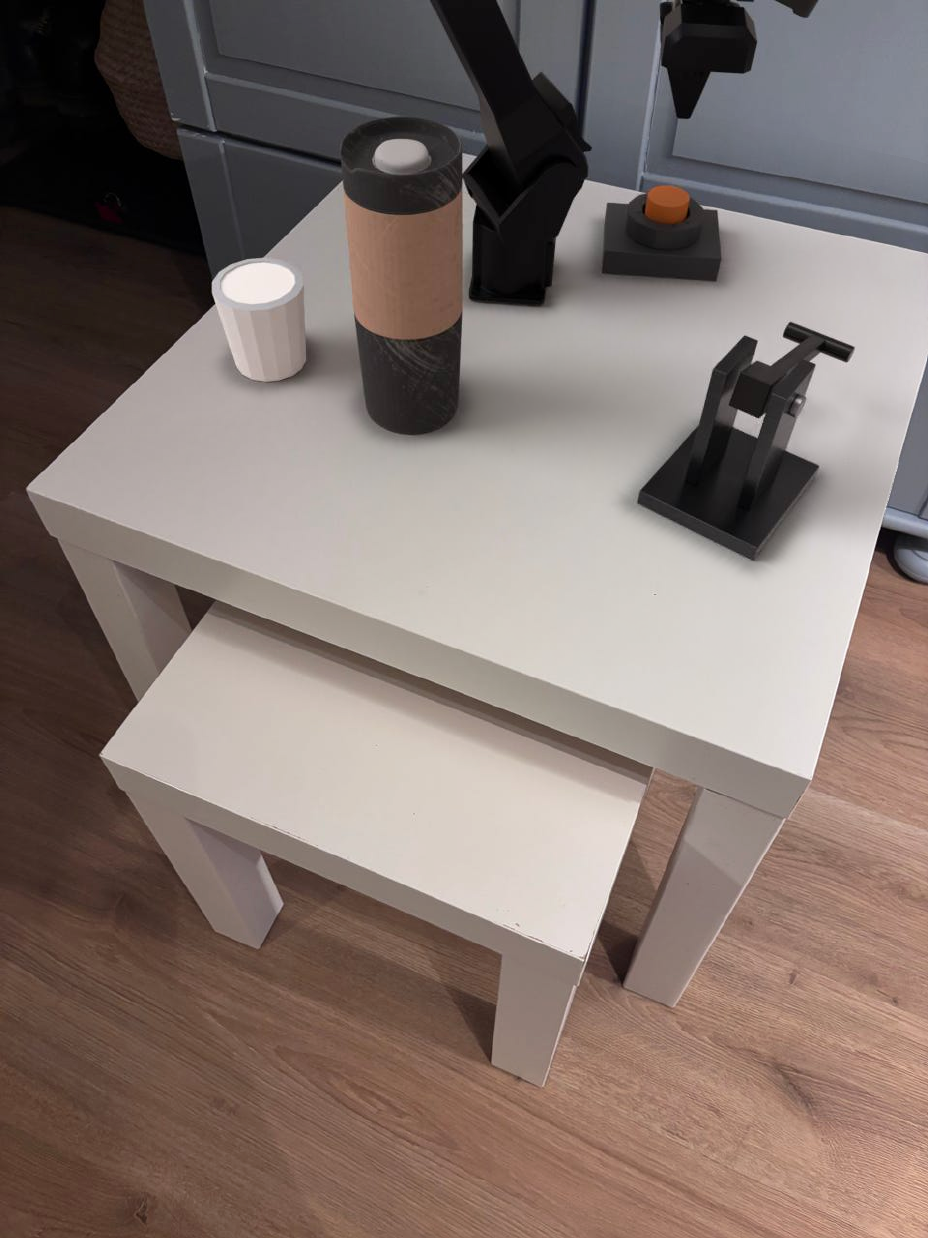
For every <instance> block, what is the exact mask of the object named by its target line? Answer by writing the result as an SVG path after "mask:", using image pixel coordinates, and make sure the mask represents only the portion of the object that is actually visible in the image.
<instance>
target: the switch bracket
mask: <svg viewBox="0 0 928 1238" xmlns="http://www.w3.org/2000/svg"><path fill="white" fill-rule="evenodd" d="M758 342H759V341H758V339H756V338H753V337H751V336H748V335H745V334H744V335H743V336H742V337H741V338H740V339H739V340H738V341H737V342H736V343H735V344H734V345H733V346H732V348H731V349H730V350H729V351H728V352H727V353H726V355H724V356H723V357H722V359H721V360H720V361H718V362H717V363H716V365H715V366H714V367H713V368H712V371H711V375H710V378H709V382H708V386H707V390H706V395H705V399H704V402H703V407H702V409H701V410H702V411H701V414H700V417H699V418H700V419H699V422H698V425H697V426H696V427H695V428H694V430H692V432H691V433H690V434H689V435H688V436H687V437H686V439H684V440H683V442H682V443H680V445H679V446H678V448H677V449H675V451H674V452H672V454H671V455H670V457H668V459H667V460H666V461H665V462H664V463H663V464H662V465H661V466H660V468H658V470H657V471H656V472H654V474H653V475H652V476H651V477H650V478H649V480H648V481H647V482H646V483H644V486H643V487H642V488H641V489H640V490H638V491H639V492H638V496H637V500H636V503H637V504H639V505H640V506H642V507H644V508H646V509H648V510H651V511H652V512H654V513H656V514H659V515H660V516H663V517H664V518H667V519H669V520H670V521H672V522H674V523H677V524H678V525H680V526H683V527H685V528H687V529H689V530H690V531H693V532H695V533H696V534H699V535H701V536H703V537H704V538H707V539H709V540H711V541H713V542H715V543H717V544H718V545H721V546H723V547H725V548H727V549H728V550H731V551H733V552H735V553H737V554H739V555H741V556H742V557H745V558H747V559H748V560H751V561H754V560H755V558H756V557H757V556H758V555H759V553H760V552H761V550H762V549H763V548H764V546H765V545H766V544H767V542H768V541H769V540H770V538H771V537H772V536H773V534H774V533H775V532H776V530H777V529H778V528H779V527H780V525H781V524H782V522H783V521H784V520H785V518H786V517H787V516H788V514H789V513H790V511H792V509H793V508H794V506H795V505H796V504H797V502H798V501H799V500H800V499H801V497H802V496H803V494H804V493H805V492H806V490H807V489H808V487H809V486H810V485H811V484H812V482H813V481H814V479H815V478H816V476H817V474H818V471H819V468H820V465H818V464H817V463H815V462H812V461H810V460H808V459H805V458H803V457H801V456H798V455H797V454H794V453H792V452H790V451H788V450H787V448H788V444H789V442H790V439H791V437H792V433H793V431H794V428H795V425H796V422H797V420H798V418H799V416H800V415H801V413H802V411H803V409H804V407H805V404H806V403H807V396H806V394H807V391H808V389H809V385H810V383H811V381H812V378H813V375H814V372H815V369H816V366H817V363H815V362H812V361H807V360H805V359H801V360H800V361H799V363H798V364H797V365H796V366H795V367H794V368H793V370H792V371H791V372H790V373H789V374H788V376H787V377H786V378H785V379H784V380H783V381H782V383H781V384H780V385H779V386H778V387H777V388H776V390H775V391H774V392H773V393H772V395H771V398H770V401H769V404H768V407H767V410H766V413H765V414H764V415H763V416H764V417H763V420H762V422H761V426H760V429H759V433H758V435H757V437H756V436H754V435H752V434H749V433H747V432H745V431H742V430H740V429H738V428H735V427H734V425H735V421H736V418H737V415H738V411H739V410H738V409H735V408H733V407H731V406H729V402H730V399H731V396H732V394H733V391H734V388H735V386H736V383H737V380H738V378H739V375H740V372H741V371H743V370H744V369H745V368H747V367H748V366H750V365H751V364H752V363H753V360H754V356H755V353H756V349H757V345H758Z"/></svg>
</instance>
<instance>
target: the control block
mask: <svg viewBox="0 0 928 1238" xmlns="http://www.w3.org/2000/svg"><path fill="white" fill-rule="evenodd" d="M647 196H648V192H645V193H641V194H638V195H636V196H635V197H634V198H633V199H631V201H629V202H628V203H621V202H620V203H619V202H607V203H606V206H605V208H606V210H605V215H604V216H605V217H604V223H603V240H602V241H603V243H602V265H601V273H602V274H609V275H625V276H636V277H650V278H651V277H652V278H663V279H664V278H666V279H678V280H679V279H680V280H692V281H693V280H694V281H705V282H706V281H708V282H717V280H718V276H719V271H720V268H721V263H722V259H723V258H722V248H721V237H720V224H719V212H718V209H708V208H704V207H703V206H702V205H701V204H699V203H698V201H696V200H695V199H694V198H693V197H690V200H689V205H688V210H687V215H686V219H685V220H684V221H683V222H679V223H675V224H667V223H658V222H656V221H653V220H650V219H648V218H647V217H646V216H645V208H646V202H647Z"/></svg>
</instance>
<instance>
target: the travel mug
mask: <svg viewBox="0 0 928 1238" xmlns="http://www.w3.org/2000/svg"><path fill="white" fill-rule="evenodd" d="M339 158H340V161H341V162H340V163H341V164H340V165H341V176H342V186H343V187H342V188H343V199H344V211H345V212H344V213H345V223H346V224H345V225H346V236H347V248H348V250H347V251H348V261H349V271H350V272H349V273H350V275H349V276H350V285H351V298H352V311H353V319H354V327H355V335H356V340H357V349H358V357H359V365H360V373H361V380H362V388H363V395H364V401H365V402H364V403H365V407H366V411H367V413H368V415H369V417H370V418H371V420H372V421H373V422H374V423H375V424H377V425H378V426H379V427H380V428H383V429H385V430H388V431H390V432H394V433H396V434H403V435H420V434H425V433H430V432H432V431H436V430H438V429H440V428H442V427H444V426H445V425H447V424H448V423H449V422H450V421H451V420H452V419H453V417H454V416H455V415H456V413H457V410H458V407H459V397H460V383H461V382H460V380H461V361H462V360H461V359H462V358H461V357H462V335H463V333H462V332H463V314H464V313H463V311H464V310H463V308H464V258H463V257H464V249H463V248H464V247H463V245H464V243H463V242H464V238H463V237H464V234H463V233H464V232H463V231H464V230H463V229H464V227H463V226H464V225H463V224H464V223H463V221H464V219H463V217H464V215H463V214H464V213H463V212H464V211H463V209H464V207H463V204H464V203H463V200H464V197H463V187H464V186H463V185H464V184H463V183H464V182H463V178H462V174H463V144H462V140H461V139H460V136H459V135H458V134H457V133H456V131H454V130H453V129H452V128H451V127H448V126H447V125H445V124H443V123H441V122H437V121H436V120H432V119H429V118H424V117H417V116H405V115H404V116H403V115H402V116H401V115H400V116H388V117H381V118H377V119H373V120H369V121H366V122H363V123H361V124H359V125H357V126H356V127H354V128H352V129H351V130H349V131H348V132H347V133H346V134H345V135H344V137H343V138H342V141H341V143H340V146H339Z"/></svg>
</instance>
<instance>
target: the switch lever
mask: <svg viewBox="0 0 928 1238" xmlns="http://www.w3.org/2000/svg"><path fill="white" fill-rule="evenodd" d="M782 338H783V339H785V340H788V341H791V342H794V343H795V344H797V345H796V346H795V347H794V348H792V349H791V350H789V352H787V353H786V354H784V355H782V356H781V357H780V358H779V359H778V360H776V361H775V362H773V363H772V364H771V365H769V364H767V363H765V362H762V361H760V360H755V361H753V362H752V363H751V365H750V366H748V367H747V368H745V369H744V370H743V371H741V372H740V375H739V378H738V380H737V383H736V386H735V388H734V391H733V394H732V396H731V399H730V402H729V406H731V407H733V408H735V409H738V411H740V412H743V413H744V414H747V415H749V416H752V417H754V418H756V419H760V418H761V417H763V416H765V413H766V410H767V407H768V404H769V401H770V398H771V395H772V393H773V392H774V391H775V390H776V388H777V387H778V386H779V385H780V384H781V383H782V381H783V380H784V379H785V378H786V377H787V376H788V374H789V373H790V372H791V371H792V370H793V368H794V367H795V366H796V365H797V364H798V363H799V361H800V360H801V359H805V360H807V361H809V362H812V360H814V359H815V358H816V357H817V356H818V355H820V354H823V355H826V356H828V357H830V358H833V359H836V360H839V361H840V362H843V363H846V364H847V363H848V362H849V361H850V360H851V358H852V357H853V354H854V352H855V349H856V347H855V346H854V345H852V344H849V343H846V342H843V341H842V340H838V339H836V338H833V337H831V336H829V335H826V334H823V333H821V332H818V331H816V330H814V329H811V328H808V327H806V326H804V325H801V324H798V323H796V322H793V321H789V322H788V323H787V325H786V326H785V328H784V330H783V333H782Z"/></svg>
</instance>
